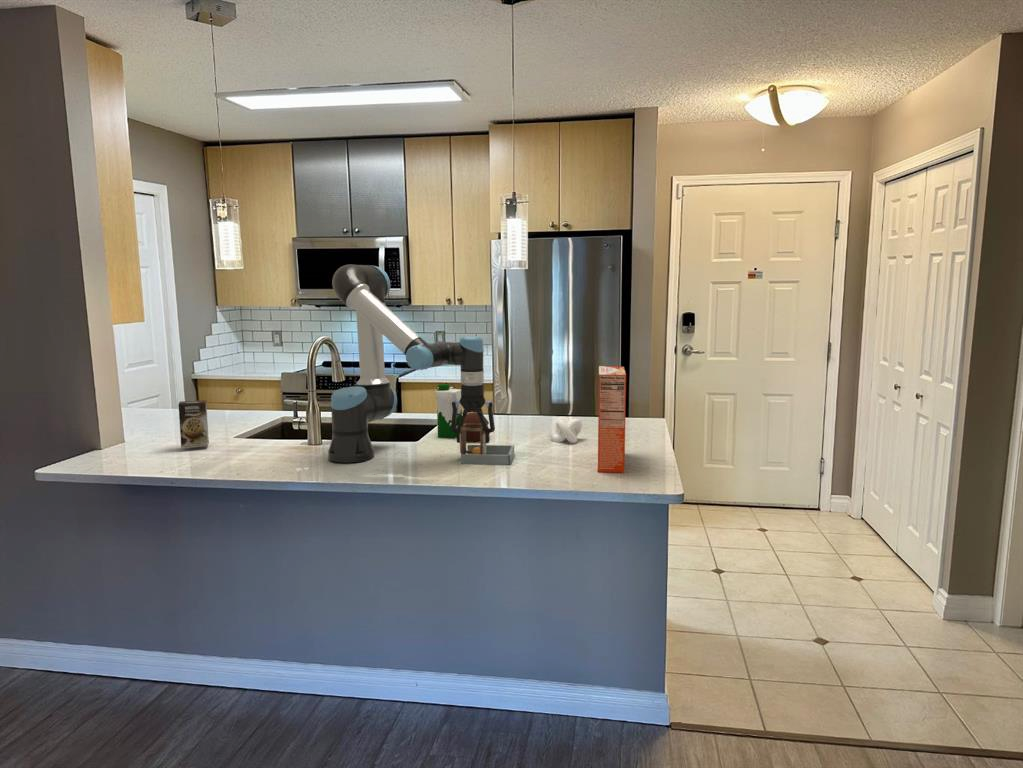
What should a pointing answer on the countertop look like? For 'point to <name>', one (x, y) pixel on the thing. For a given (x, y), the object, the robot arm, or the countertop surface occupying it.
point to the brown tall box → (193, 423)
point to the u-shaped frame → (489, 459)
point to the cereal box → (611, 419)
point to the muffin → (473, 419)
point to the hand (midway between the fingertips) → (473, 452)
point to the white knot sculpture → (565, 429)
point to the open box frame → (463, 436)
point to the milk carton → (447, 410)
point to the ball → (476, 450)
